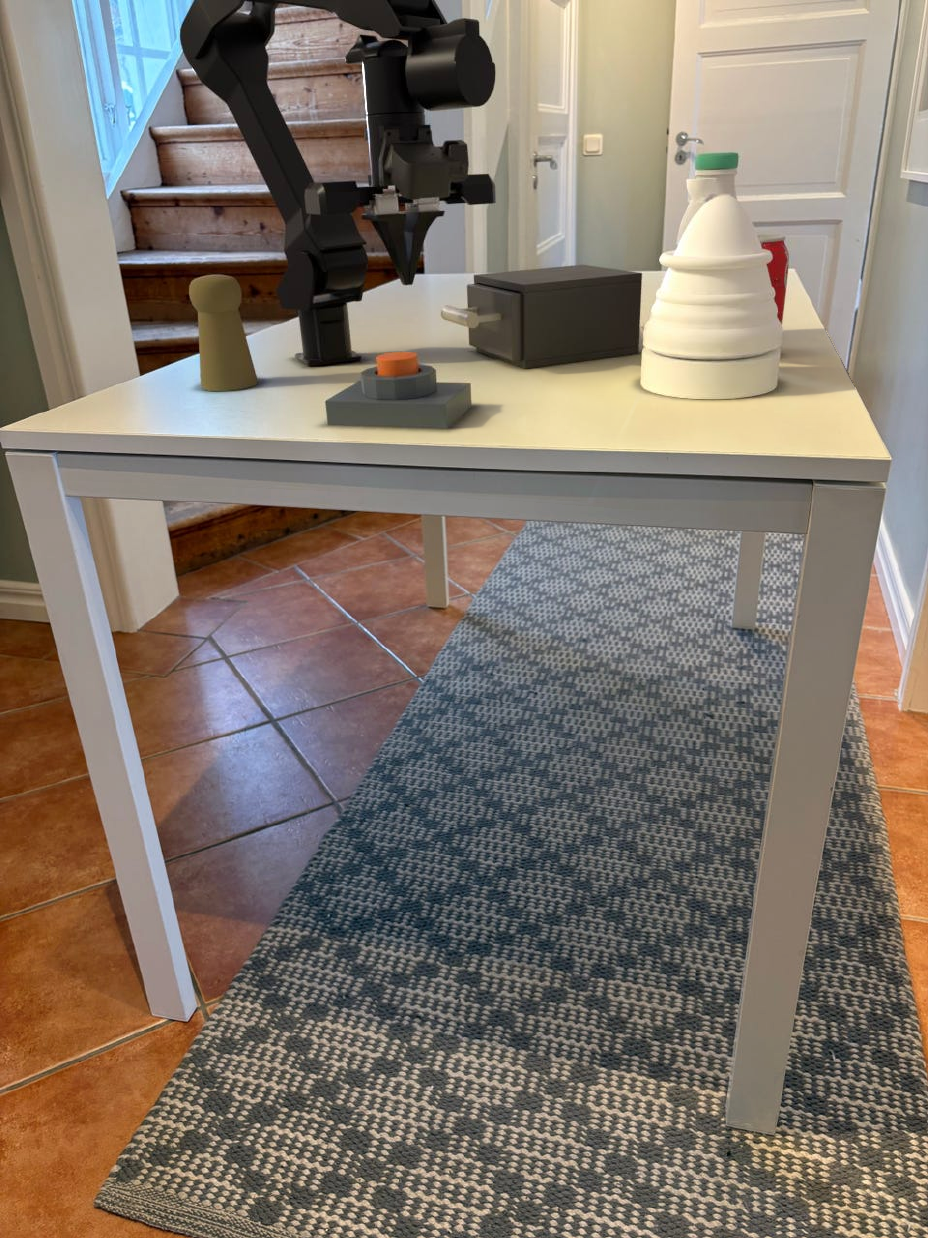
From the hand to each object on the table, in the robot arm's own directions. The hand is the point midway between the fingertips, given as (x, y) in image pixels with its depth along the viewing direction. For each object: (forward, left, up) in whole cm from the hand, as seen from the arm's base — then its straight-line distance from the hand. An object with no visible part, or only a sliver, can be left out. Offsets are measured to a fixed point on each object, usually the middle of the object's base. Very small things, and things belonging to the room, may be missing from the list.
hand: (407, 284), depth 94 cm
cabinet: (0, +18, -9) cm, 20 cm away
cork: (-5, -19, -9) cm, 22 cm away
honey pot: (+23, +22, -9) cm, 33 cm away
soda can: (+14, +34, -9) cm, 38 cm away
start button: (+18, -8, -5) cm, 20 cm away
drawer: (0, +14, -8) cm, 16 cm away
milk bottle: (+4, +36, -9) cm, 37 cm away
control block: (+18, -8, -9) cm, 22 cm away
